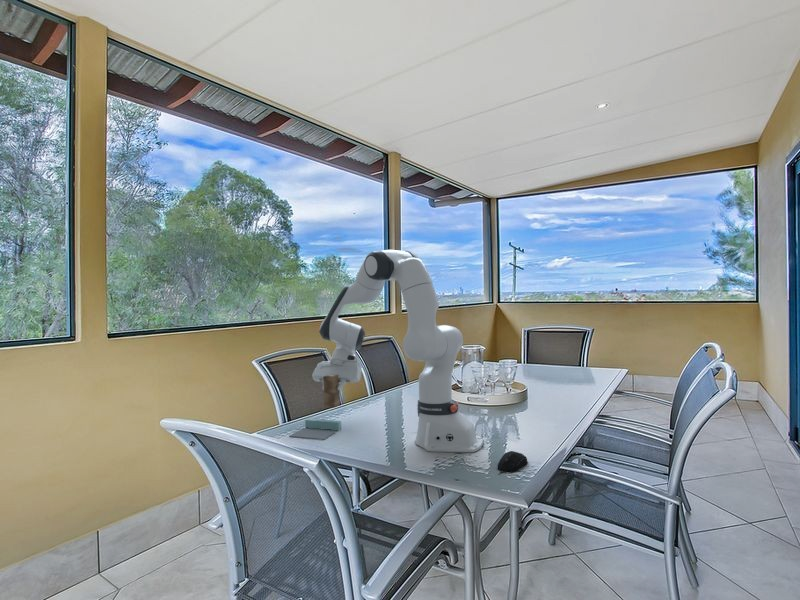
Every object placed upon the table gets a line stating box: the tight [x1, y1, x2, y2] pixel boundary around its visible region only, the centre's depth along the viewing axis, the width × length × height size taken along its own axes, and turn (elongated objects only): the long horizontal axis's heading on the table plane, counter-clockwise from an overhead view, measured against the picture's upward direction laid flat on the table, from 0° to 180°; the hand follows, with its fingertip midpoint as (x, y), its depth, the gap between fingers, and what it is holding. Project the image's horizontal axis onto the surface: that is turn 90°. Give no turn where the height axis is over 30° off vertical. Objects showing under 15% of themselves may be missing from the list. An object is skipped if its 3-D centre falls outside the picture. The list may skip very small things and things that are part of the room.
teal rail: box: [304, 418, 342, 431], centre depth 170 cm, size 14×2×3 cm, turn 71°
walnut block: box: [322, 374, 341, 408], centre depth 178 cm, size 4×4×12 cm
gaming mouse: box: [497, 450, 529, 476], centre depth 129 cm, size 6×15×4 cm, turn 140°
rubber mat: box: [288, 428, 337, 441], centre depth 163 cm, size 14×9×1 cm, turn 71°
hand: (330, 389), depth 178 cm, fingers closed on walnut block, 4 cm apart
